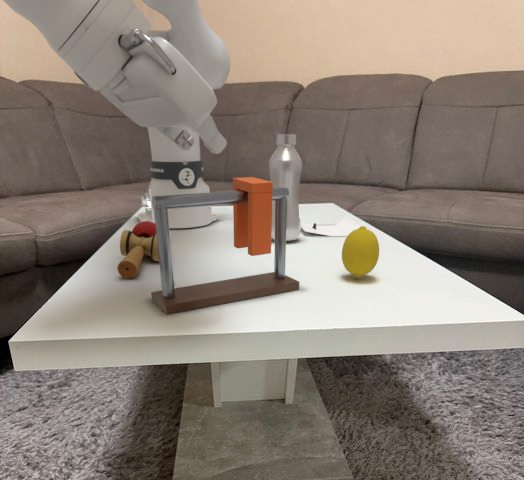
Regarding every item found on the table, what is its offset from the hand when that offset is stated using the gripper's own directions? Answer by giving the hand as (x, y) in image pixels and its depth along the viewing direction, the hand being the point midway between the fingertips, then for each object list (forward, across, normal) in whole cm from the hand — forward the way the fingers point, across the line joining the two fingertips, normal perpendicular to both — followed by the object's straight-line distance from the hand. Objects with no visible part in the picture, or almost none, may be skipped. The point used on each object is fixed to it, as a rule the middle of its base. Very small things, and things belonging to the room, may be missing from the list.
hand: (204, 147), depth 55 cm
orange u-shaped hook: (+14, 0, +5) cm, 15 cm away
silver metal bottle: (+33, +25, -6) cm, 42 cm away
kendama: (+11, +22, +16) cm, 29 cm away
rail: (+15, 0, +12) cm, 19 cm away
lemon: (+30, -3, -3) cm, 30 cm away
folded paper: (+43, +29, -16) cm, 54 cm away
